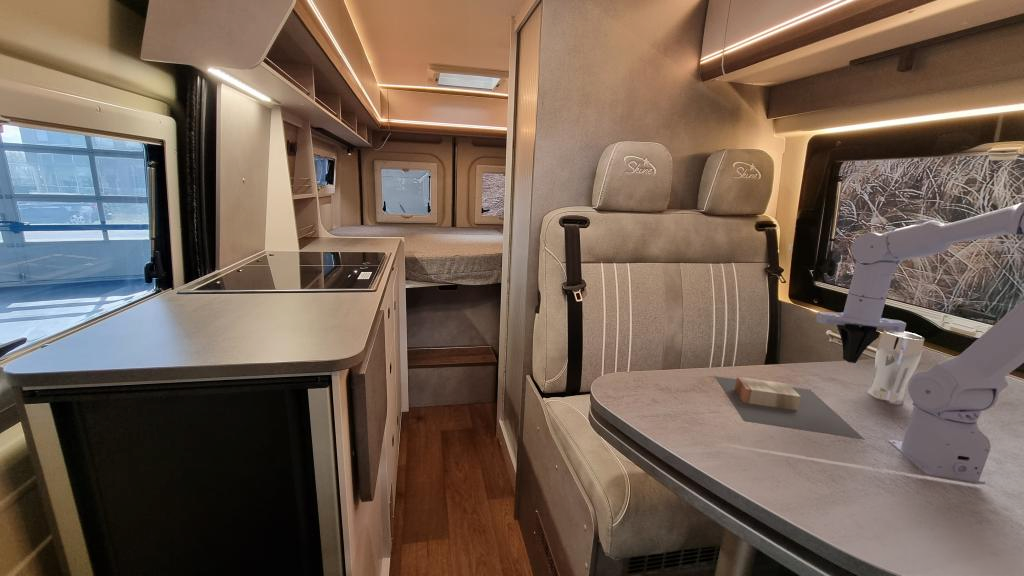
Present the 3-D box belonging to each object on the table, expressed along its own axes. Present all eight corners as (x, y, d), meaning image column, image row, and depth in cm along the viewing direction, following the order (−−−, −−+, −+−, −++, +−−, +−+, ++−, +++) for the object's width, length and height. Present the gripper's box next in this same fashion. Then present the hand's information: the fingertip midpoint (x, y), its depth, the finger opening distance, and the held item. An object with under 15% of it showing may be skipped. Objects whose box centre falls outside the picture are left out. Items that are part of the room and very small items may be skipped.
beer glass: (889, 392, 96) (907, 330, 93) (914, 407, 89) (935, 341, 86) (857, 389, 97) (874, 327, 93) (879, 404, 90) (899, 338, 86)
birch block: (800, 396, 83) (746, 389, 85) (797, 410, 83) (743, 402, 85) (787, 383, 89) (736, 376, 90) (784, 396, 89) (734, 389, 91)
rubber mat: (864, 441, 75) (864, 439, 74) (743, 422, 78) (744, 420, 78) (809, 391, 94) (810, 389, 94) (714, 378, 97) (715, 376, 97)
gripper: (895, 295, 84) (877, 358, 87) (815, 287, 86) (800, 349, 89) (921, 303, 77) (900, 372, 80) (833, 295, 80) (817, 361, 83)
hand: (849, 360), depth 84 cm, fingers closed
